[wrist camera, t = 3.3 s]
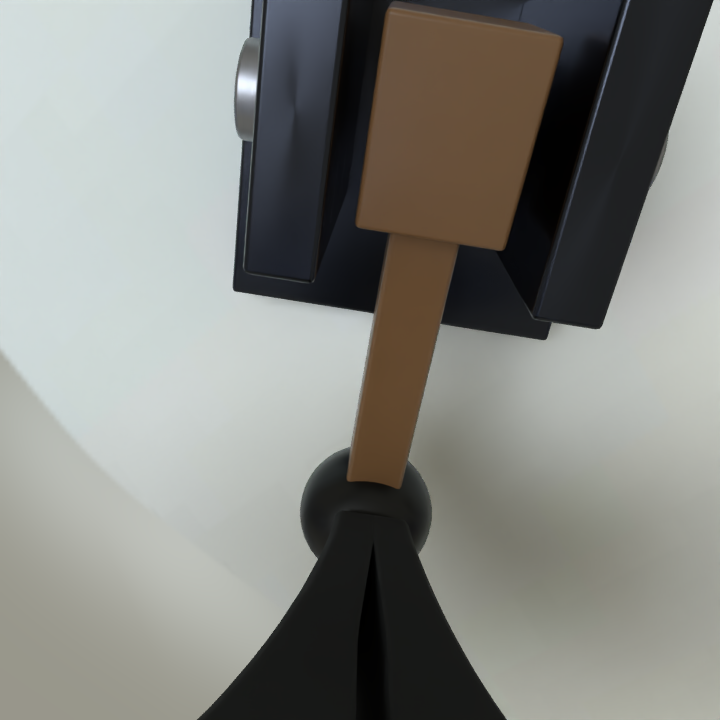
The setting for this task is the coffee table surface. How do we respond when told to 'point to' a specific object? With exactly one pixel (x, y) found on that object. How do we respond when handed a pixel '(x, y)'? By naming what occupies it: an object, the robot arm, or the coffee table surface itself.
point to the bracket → (542, 183)
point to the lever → (429, 227)
